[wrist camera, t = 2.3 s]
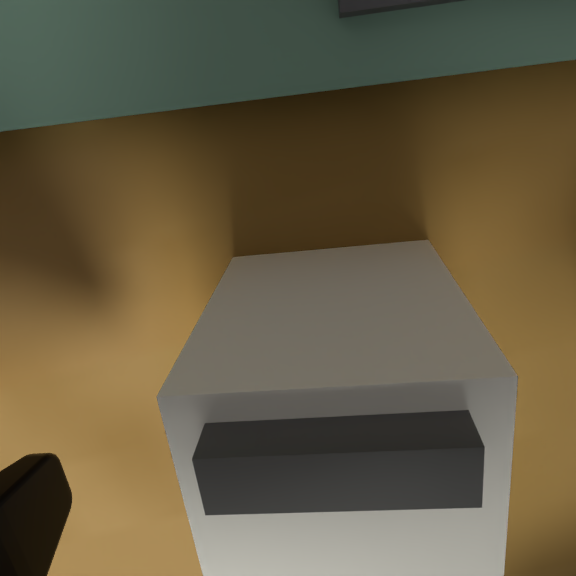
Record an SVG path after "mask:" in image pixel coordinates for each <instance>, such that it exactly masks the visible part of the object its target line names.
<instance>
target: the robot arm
mask: <svg viewBox="0 0 576 576" xmlns="http://www.w3.org/2000/svg"><path fill="white" fill-rule="evenodd" d="M71 504H72V493H71V489H70V487H69V484H68V481H67V478H66V476H65V473H64V470H63V468H62V465H61V462H60V460H59V458H58V457H57V456H56V455H55V454H52V453H38V454H29V455H26V456H24V457H23V458H21V459H19V460H18V461H16V462H15V463H13V464H11V465H10V466H8V467H7V468H5V469H3V470H2V471H0V576H47V574H48V571H49V568H50V566H51V563H52V560H53V557H54V554H55V551H56V549H57V546H58V543H59V540H60V537H61V535H62V532H63V529H64V526H65V523H66V521H67V518H68V515H69V512H70V509H71Z"/></svg>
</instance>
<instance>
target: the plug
mask: <svg viewBox="0 0 576 576" xmlns="http://www.w3.org/2000/svg"><path fill="white" fill-rule="evenodd" d="M517 383H518V376H517V374H516V373H515V371H514V370H513V368H512V366H511V365H510V363H509V362H508V360H507V359H506V357H505V356H504V354H503V353H502V351H501V350H500V348H499V347H498V345H497V344H496V342H495V341H494V339H493V337H492V336H491V334H490V333H489V331H488V330H487V328H486V327H485V325H484V324H483V322H482V321H481V319H480V318H479V316H478V315H477V313H476V312H475V310H474V308H473V307H472V305H471V304H470V302H469V301H468V299H467V298H466V296H465V295H464V293H463V292H462V290H461V289H460V287H459V286H458V284H457V283H456V281H455V280H454V278H453V276H452V275H451V273H450V272H449V270H448V269H447V267H446V266H445V264H444V263H443V261H442V260H441V258H440V257H439V255H438V254H437V252H436V251H435V249H434V247H433V246H432V244H431V243H430V241H429V240H418V241H407V242H396V243H385V244H374V245H363V246H351V247H340V248H329V249H318V250H307V251H296V252H284V253H273V254H262V255H251V256H240V257H233V258H232V260H231V262H230V263H229V265H228V267H227V269H226V271H225V273H224V274H223V276H222V278H221V280H220V282H219V284H218V285H217V287H216V289H215V291H214V293H213V294H212V296H211V298H210V300H209V302H208V304H207V305H206V307H205V309H204V311H203V313H202V315H201V316H200V318H199V320H198V322H197V324H196V326H195V327H194V329H193V331H192V333H191V335H190V337H189V338H188V340H187V342H186V344H185V346H184V348H183V349H182V351H181V353H180V355H179V357H178V359H177V360H176V362H175V364H174V366H173V368H172V370H171V371H170V373H169V375H168V377H167V379H166V380H165V382H164V384H163V386H162V388H161V390H160V391H159V393H158V395H157V401H158V405H159V408H160V412H161V416H162V420H163V424H164V428H165V431H166V435H167V439H168V443H169V447H170V451H171V454H172V458H173V462H174V466H175V470H176V474H177V477H178V481H179V485H180V489H181V493H182V497H183V500H184V504H185V508H186V512H187V516H188V520H189V523H190V527H191V531H192V535H193V539H194V543H195V546H196V550H197V554H198V558H199V562H200V566H201V569H202V573H203V576H504V567H505V553H506V539H507V524H508V510H509V496H510V482H511V468H512V454H513V440H514V425H515V411H516V397H517Z"/></svg>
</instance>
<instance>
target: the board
mask: <svg viewBox="0 0 576 576" xmlns="http://www.w3.org/2000/svg"><path fill="white" fill-rule="evenodd" d="M568 60H576V0H0V132H2V131H10V130H18V129H26V128H34V127H42V126H50V125H57V124H65V123H73V122H81V121H89V120H97V119H105V118H113V117H121V116H129V115H137V114H145V113H153V112H161V111H169V110H177V109H185V108H193V107H201V106H209V105H217V104H225V103H233V102H241V101H249V100H257V99H265V98H273V97H281V96H289V95H297V94H305V93H313V92H321V91H329V90H337V89H345V88H353V87H361V86H369V85H377V84H385V83H393V82H401V81H409V80H417V79H425V78H433V77H441V76H449V75H457V74H465V73H473V72H481V71H488V70H496V69H504V68H512V67H520V66H528V65H536V64H544V63H552V62H560V61H568Z"/></svg>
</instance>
